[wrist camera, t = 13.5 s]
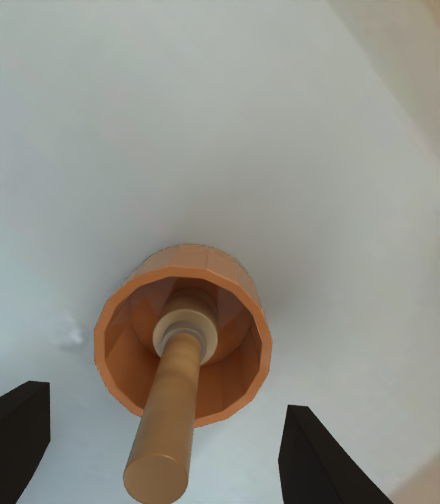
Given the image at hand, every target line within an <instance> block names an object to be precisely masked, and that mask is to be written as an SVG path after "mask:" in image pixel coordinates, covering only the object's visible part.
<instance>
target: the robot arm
mask: <svg viewBox="0 0 440 504" xmlns="http://www.w3.org/2000/svg"><path fill="white" fill-rule="evenodd" d="M49 442H50V383H48V382H38V381H28V382H26V383H24V384H22V385H20V386H18V387H17V388H15V389H13V390H11V391H10V392H8V393H6V394H5V395H3V396H1V397H0V504H16V502H17V500H18V499H19V497H20V496H21V494H22V493H23V491H24V489H25V488H26V486H27V485H28V483H29V481H30V480H31V478H32V476H33V474H34V472H35V470H36V469H37V467H38V465H39V463H40V461H41V459H42V457H43V455H44V452H45V450H46V448H47V446H48V444H49ZM278 464H279V473H280V481H281V488H282V495H283V501H284V504H393V503H392V502H391V501H390V500H389V498H388V497H387V496H386V495H385V494H384V493H383V492H382V491H381V490H380V489H379V488H378V487H377V486H376V485H375V484H374V483H373V482H372V481H371V480H370V479H369V478H368V476H367V475H366V474H365V473H364V472H363V471H362V470H361V469H360V468H359V467H358V465H357V464H356V463H355V462H354V461H353V460H352V459H351V457H350V456H349V455H348V454H347V453H346V452H345V451H344V449H343V448H342V447H341V446H340V445H339V443H338V442H337V441H336V440H335V439H334V438H333V436H332V435H331V434H330V433H329V431H328V430H327V429H326V428H325V427H324V425H323V424H322V423H321V422H320V421H319V419H318V418H317V417H316V416H315V414H314V413H313V412H312V411H311V410H310V408H309V407H308V406H297V405H288V408H287V413H286V419H285V424H284V430H283V435H282V441H281V447H280V452H279V458H278Z"/></svg>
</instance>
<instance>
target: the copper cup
mask: <svg viewBox="0 0 440 504" xmlns="http://www.w3.org/2000/svg"><path fill="white" fill-rule="evenodd" d="M183 288H197V289H200V290H203V291H205V292H206V293H208V294H209V295H210V296H211V297H212V298H213V299H214V301H215V303H216V305H217V308H218V344H217V348H216V350H215V353H214V354H213V356H212V357H211V358H210V359H209V360H208V361H207V362H205V363H204V364H202V365H200V372H199V382H198V391H197V401H196V411H195V421H194V428H197V427H201V426H204V425H208V424H211V423H215V422H218V421H222V420H225V419H227V418H229V417H230V416H232V415H233V414H234V413H236V412H237V411H238V410H240V409H241V408H243V407H244V406H245V405H247V404H248V403H249V402H251V401H252V399H254V397H255V395H256V394H257V392H258V390H259V389H260V387H261V385H262V384H263V382H264V380H265V379H266V377H267V375H268V372H269V368H270V360H271V351H272V343H273V342H272V338H271V334H270V331H269V328H268V325H267V322H266V319H265V316H264V313H263V310H262V307H261V304H260V301H259V298H258V295H257V291H256V288H255V285H254V282H253V280H252V278H251V277H250V276H249V274H248V273H247V272H246V270H245V269H244V268H243V267H242V266H241V265H240V264H239V263H238V262H237V261H236V260H235V259H234V258H232V257H231V256H230V255H228V254H226V253H224V252H223V251H221V250H218V249H216V248H213V247H209V246H206V245H199V244H182V245H175V246H172V247H168V248H165V249H163V250H160V251H159V252H157V253H154V254H153V255H151V256H150V257H149V258H148V259H146V260H145V261H144V262H143V263H142V264H141V265H140V266H139V267H138V268H137V269H136V270H134V271H133V272H132V274H131V275H130V276H129V277H128V278H127V279H126V280H125V281H124V282H123V283H122V284H121V286H120V287H119V288H118V289H117V290H116V291H115V292H114V293H113V294H112V295H111V296H110V298H109V299H108V300H107V301H106V304H105V306H104V308H103V310H102V313H101V315H100V317H99V319H98V322H97V324H96V326H95V328H94V361H95V365H96V367H97V369H98V371H99V373H100V375H101V377H102V379H103V381H104V384H105V386H106V388H107V390H108V391H109V393H110V394H112V395H113V396H114V397H115V398H116V399H117V400H118V401H119V402H120V403H121V404H122V405H124V406H125V407H126V408H127V409H128V410H129V411H130V412H131V413H133V414H135V415H137V416H139V417H142V415H143V412H144V408H145V405H146V402H147V399H148V396H149V393H150V390H151V387H152V384H153V381H154V378H155V375H156V371H157V368H158V365H159V362H160V359H161V358H160V356H159V355H158V354H157V352H156V350H155V348H154V345H153V331H154V328H155V326H156V323H157V321H158V319H159V316H160V314H161V312H162V309H163V307H164V305H165V302H166V301H167V299H168V298H169V296H171V295H172V294H173V293H174V292H176V291H178V290H180V289H183Z"/></svg>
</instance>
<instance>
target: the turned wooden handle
mask: <svg viewBox="0 0 440 504" xmlns="http://www.w3.org/2000/svg"><path fill="white" fill-rule="evenodd" d="M217 344H218V308H217V305H216V303H215V301H214V299H213V298H212V297H211V296H210V295H209V294H208V293H206V292H205V291H203V290H200V289H197V288H183V289H180V290H178V291H176V292H174V293H173V294H172V295H171V296H169V298H168V299H167V301H166V302H165V305H164V307H163V309H162V312H161V314H160V316H159V319H158V321H157V323H156V326H155V328H154V331H153V345H154V348H155V350H156V352H157V354H158V355H159V356H160V358H161V359H160V362H159V365H158V368H157V371H156V375H155V378H154V381H153V384H152V387H151V390H150V393H149V396H148V399H147V402H146V405H145V408H144V412H143V415H142V418H141V421H140V424H139V427H138V430H137V433H136V436H135V439H134V442H133V445H132V449H131V452H130V455H129V458H128V461H127V464H126V467H125V470H124V474H123V481H124V486H125V488H126V490H127V492H128V493H129V495H130V496H131V497H132V498H134V499H135V500H136V501H138V502H140V503H142V504H171V503H173V502H175V501H177V500H178V499H179V498H180V497H181V496H182V495H183V494H184V492H185V490H186V488H187V485H188V479H189V469H190V460H191V450H192V440H193V430H194V421H195V411H196V401H197V391H198V382H199V372H200V365H202V364H204V363H205V362H207V361H208V360H209V359H210V358H211V357H212V356H213V354H214V353H215V350H216V348H217Z"/></svg>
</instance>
